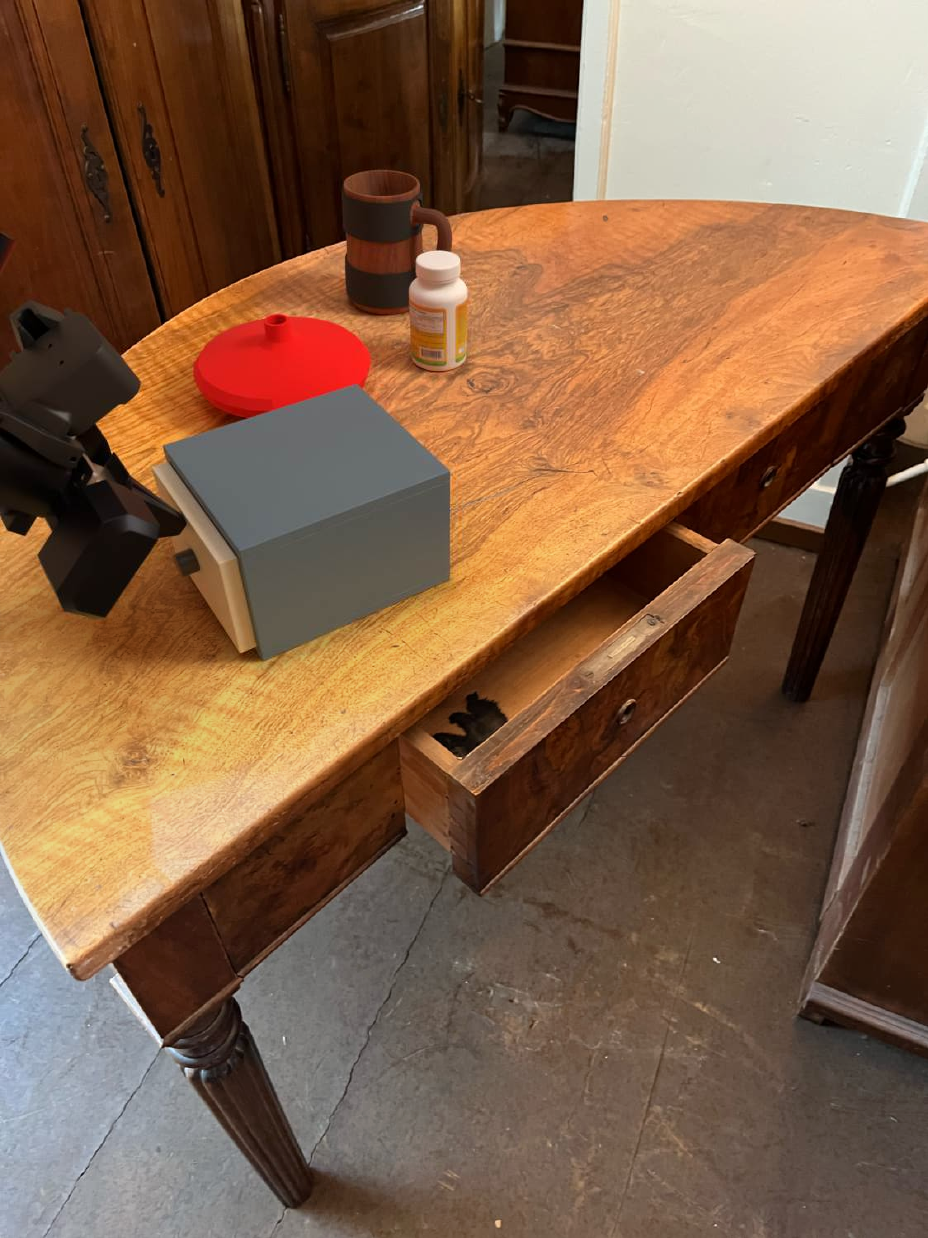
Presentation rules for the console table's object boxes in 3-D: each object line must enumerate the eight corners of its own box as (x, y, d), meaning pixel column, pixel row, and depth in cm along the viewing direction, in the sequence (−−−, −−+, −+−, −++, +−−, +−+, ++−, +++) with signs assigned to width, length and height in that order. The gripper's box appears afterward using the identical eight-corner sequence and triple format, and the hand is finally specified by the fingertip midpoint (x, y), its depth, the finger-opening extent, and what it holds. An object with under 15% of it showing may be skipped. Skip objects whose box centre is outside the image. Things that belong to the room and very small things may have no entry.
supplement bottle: (451, 340, 89) (452, 242, 82) (476, 365, 85) (478, 265, 78) (402, 351, 87) (398, 252, 80) (425, 377, 84) (422, 276, 77)
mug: (431, 332, 90) (429, 213, 81) (331, 305, 94) (319, 189, 85) (469, 297, 95) (472, 182, 87) (373, 273, 99) (367, 161, 91)
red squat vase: (273, 464, 74) (260, 388, 69) (164, 393, 81) (145, 320, 76) (408, 391, 82) (406, 319, 77) (298, 332, 89) (289, 263, 84)
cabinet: (263, 661, 58) (238, 550, 51) (191, 554, 66) (162, 445, 59) (450, 579, 64) (450, 470, 57) (365, 489, 71) (356, 383, 65)
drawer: (222, 661, 57) (198, 571, 52) (160, 561, 64) (132, 472, 58) (418, 577, 63) (415, 488, 57) (342, 494, 69) (333, 407, 64)
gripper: (61, 374, 37) (324, 501, 49) (-42, 220, 47) (194, 356, 60) (-68, 584, 39) (213, 655, 51) (-139, 391, 50) (108, 488, 62)
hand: (181, 525), depth 56 cm, fingers closed, pressing on drawer
